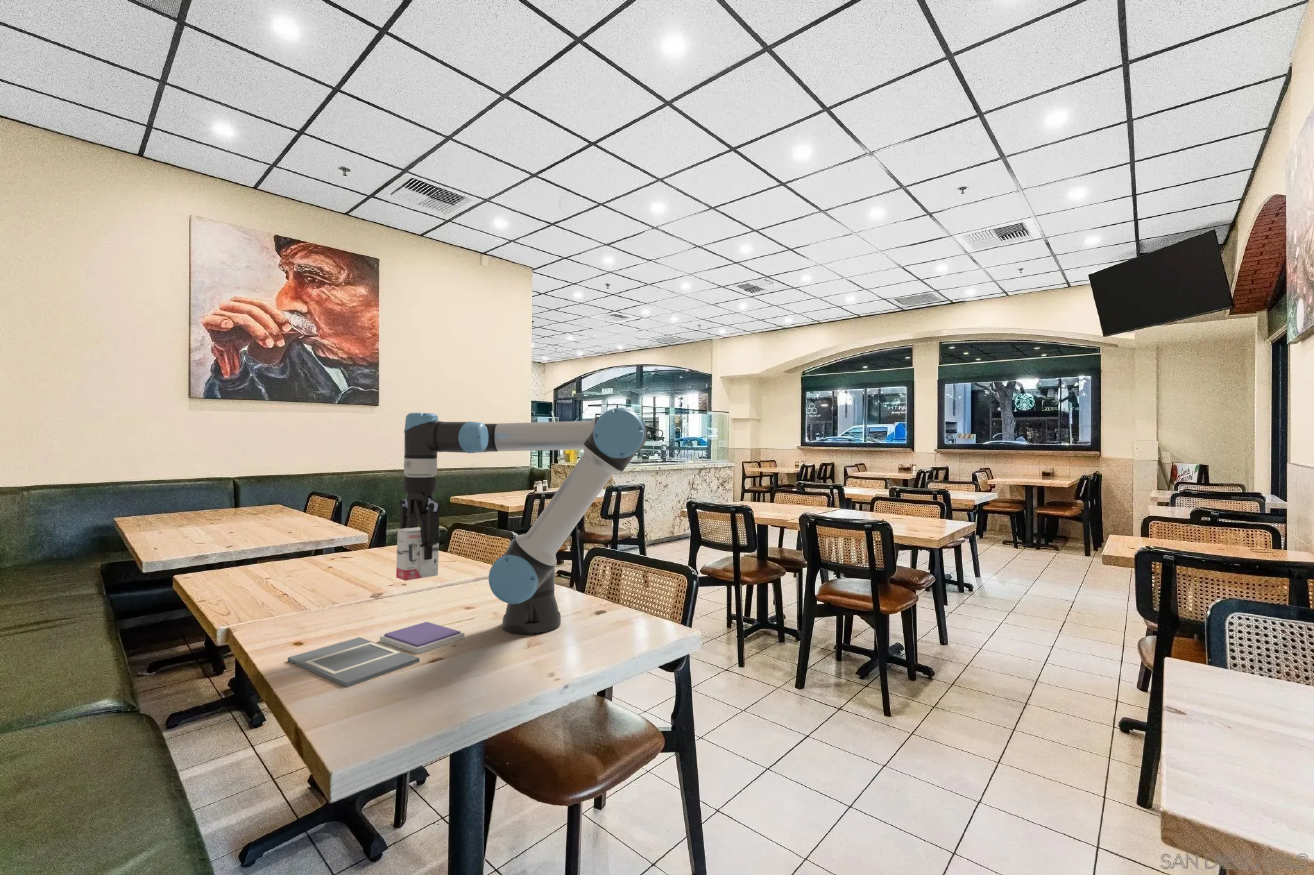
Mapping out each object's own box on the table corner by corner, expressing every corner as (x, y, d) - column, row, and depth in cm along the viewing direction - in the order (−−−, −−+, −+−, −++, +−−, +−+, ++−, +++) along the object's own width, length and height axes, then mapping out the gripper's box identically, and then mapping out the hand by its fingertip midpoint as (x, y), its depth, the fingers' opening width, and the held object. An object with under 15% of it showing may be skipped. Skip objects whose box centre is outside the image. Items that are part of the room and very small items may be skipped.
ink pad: (464, 637, 140) (464, 631, 140) (417, 653, 129) (417, 646, 129) (427, 627, 148) (427, 620, 148) (379, 641, 137) (379, 634, 137)
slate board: (419, 661, 125) (419, 656, 125) (346, 687, 111) (346, 682, 111) (359, 640, 138) (359, 636, 138) (287, 661, 124) (287, 656, 124)
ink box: (404, 581, 133) (405, 530, 133) (395, 578, 137) (396, 528, 137) (439, 575, 139) (440, 527, 140) (430, 572, 143) (430, 525, 143)
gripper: (384, 474, 141) (382, 568, 140) (429, 478, 130) (426, 579, 130) (412, 473, 147) (410, 563, 146) (456, 477, 136) (454, 573, 136)
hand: (417, 570), depth 138 cm, fingers closed on ink box, 5 cm apart
